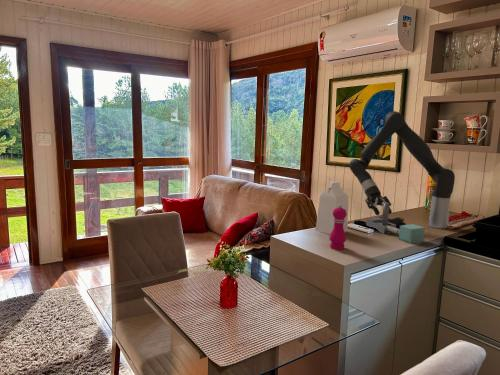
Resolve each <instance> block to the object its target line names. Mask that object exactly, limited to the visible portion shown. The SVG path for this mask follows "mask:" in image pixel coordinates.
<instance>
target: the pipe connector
mask: <svg viewBox="0 0 500 375" xmlns="http://www.w3.org/2000/svg"><path fill="white" fill-rule="evenodd" d="M378 217H379V218H382V216H378ZM404 221H405V218H402V217H399V216H398V217H394V218H388V222H389V223H392V224H396V228H398V229H400V226H402V225H407V224H406V222H404Z"/></svg>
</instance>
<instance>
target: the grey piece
mask: <svg viewBox="0 0 500 375" xmlns="http://www.w3.org/2000/svg"><path fill="white" fill-rule="evenodd" d="M382 204H383V206H382V216H381V217H382V223H381V224H384V225H387V226H388V219H389V215H390V214H389V207H390V206H389V203H384V202H383V203H382ZM378 223H379V222H378ZM387 230H388V231H391V232H394V233H393V234H397V235H399V232H400V229H398V228H395V227H392V226H388V227H387Z"/></svg>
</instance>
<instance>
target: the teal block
mask: <svg viewBox="0 0 500 375" xmlns="http://www.w3.org/2000/svg"><path fill="white" fill-rule="evenodd" d="M425 230H426V228H425V227H424V226H421V225H417V224H414V223H411V224H406V225H402V226H400V232H399V234H398V240H399V241H401V242H405V243H407V244H416V243H422V242H424V240H425V239H424V237H425Z"/></svg>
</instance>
